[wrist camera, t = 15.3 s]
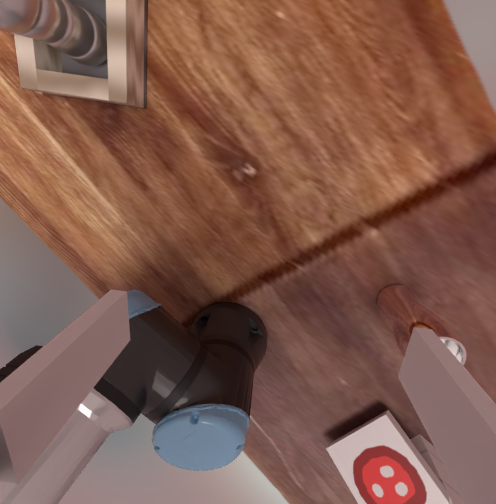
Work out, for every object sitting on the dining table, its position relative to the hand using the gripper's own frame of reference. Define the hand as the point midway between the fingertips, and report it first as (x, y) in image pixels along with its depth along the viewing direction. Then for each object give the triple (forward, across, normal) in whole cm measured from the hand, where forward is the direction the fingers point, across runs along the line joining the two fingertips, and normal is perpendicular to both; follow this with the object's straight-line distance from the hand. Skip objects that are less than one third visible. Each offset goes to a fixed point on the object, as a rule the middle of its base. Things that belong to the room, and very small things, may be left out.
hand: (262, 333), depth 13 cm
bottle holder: (+36, +28, -20) cm, 50 cm away
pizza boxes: (+36, -33, +53) cm, 72 cm away
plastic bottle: (+35, +28, -20) cm, 49 cm away
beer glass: (+36, -23, +15) cm, 45 cm away
